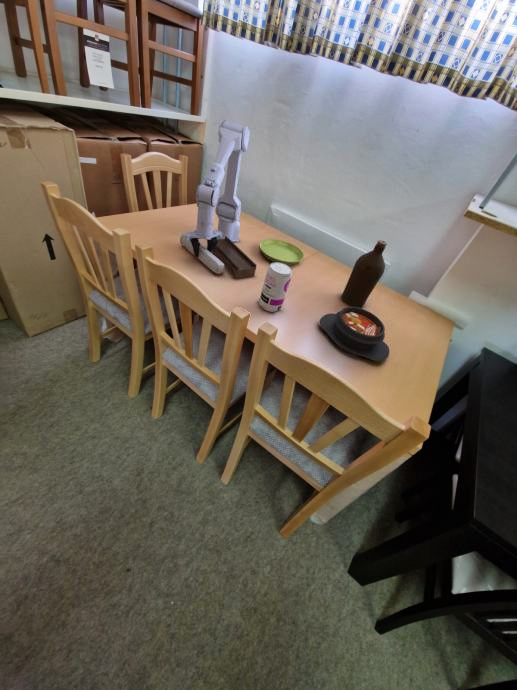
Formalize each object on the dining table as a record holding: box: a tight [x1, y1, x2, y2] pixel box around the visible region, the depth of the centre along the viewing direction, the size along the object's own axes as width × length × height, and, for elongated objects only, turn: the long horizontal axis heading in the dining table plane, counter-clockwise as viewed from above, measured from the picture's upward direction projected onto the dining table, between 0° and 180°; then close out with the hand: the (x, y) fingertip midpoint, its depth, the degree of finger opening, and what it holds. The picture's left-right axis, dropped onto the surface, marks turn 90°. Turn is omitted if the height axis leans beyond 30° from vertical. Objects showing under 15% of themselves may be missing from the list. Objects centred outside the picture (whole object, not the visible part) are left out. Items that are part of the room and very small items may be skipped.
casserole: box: [318, 306, 390, 362], centre depth 96 cm, size 25×19×8 cm
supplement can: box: [258, 262, 293, 313], centre depth 98 cm, size 8×8×15 cm
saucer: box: [259, 238, 305, 266], centre depth 132 cm, size 21×21×3 cm
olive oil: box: [340, 239, 388, 309], centre depth 110 cm, size 11×11×25 cm
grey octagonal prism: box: [179, 232, 225, 275], centre depth 114 cm, size 5×5×25 cm
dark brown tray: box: [213, 236, 258, 280], centre depth 118 cm, size 9×24×5 cm, turn 34°
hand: (202, 255), depth 115 cm, fingers closed on grey octagonal prism, 5 cm apart
